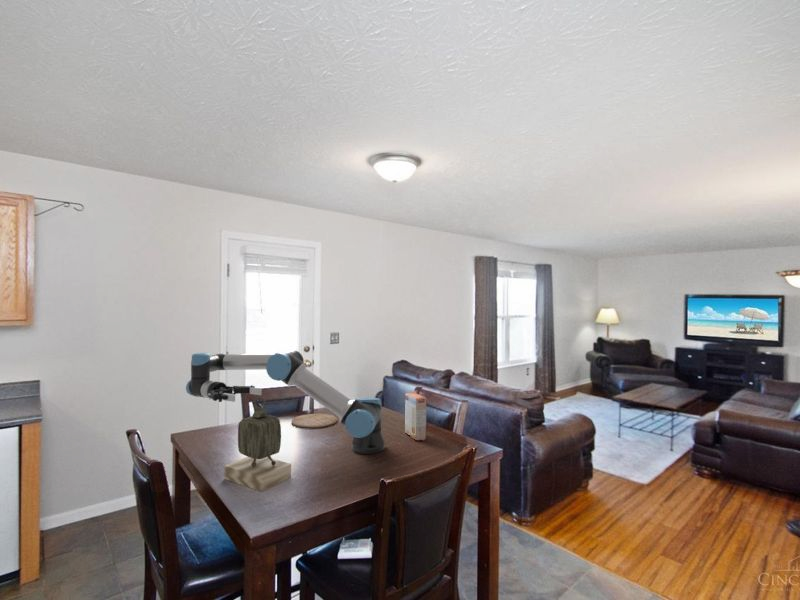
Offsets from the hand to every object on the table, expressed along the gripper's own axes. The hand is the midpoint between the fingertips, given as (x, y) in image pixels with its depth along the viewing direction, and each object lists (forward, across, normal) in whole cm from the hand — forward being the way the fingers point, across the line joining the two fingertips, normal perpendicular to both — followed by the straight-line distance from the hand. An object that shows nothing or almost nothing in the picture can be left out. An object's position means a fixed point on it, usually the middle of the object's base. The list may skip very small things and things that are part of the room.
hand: (248, 394), depth 165 cm
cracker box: (+45, -65, -29) cm, 85 cm away
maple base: (+15, +8, -28) cm, 33 cm away
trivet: (-16, -60, -29) cm, 69 cm away
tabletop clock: (+15, +8, -23) cm, 29 cm away
